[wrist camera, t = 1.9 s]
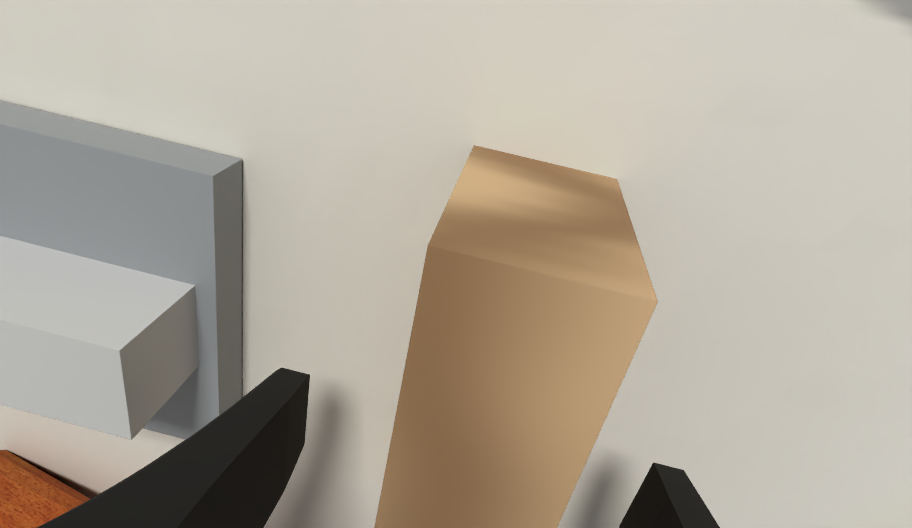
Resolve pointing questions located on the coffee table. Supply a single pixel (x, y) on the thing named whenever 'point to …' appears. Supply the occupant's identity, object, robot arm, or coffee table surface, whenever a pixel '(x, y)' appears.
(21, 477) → the kendama
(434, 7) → the coffee table surface
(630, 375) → the coffee table surface
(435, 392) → the oak bar
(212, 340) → the balance stand
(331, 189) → the coffee table surface
